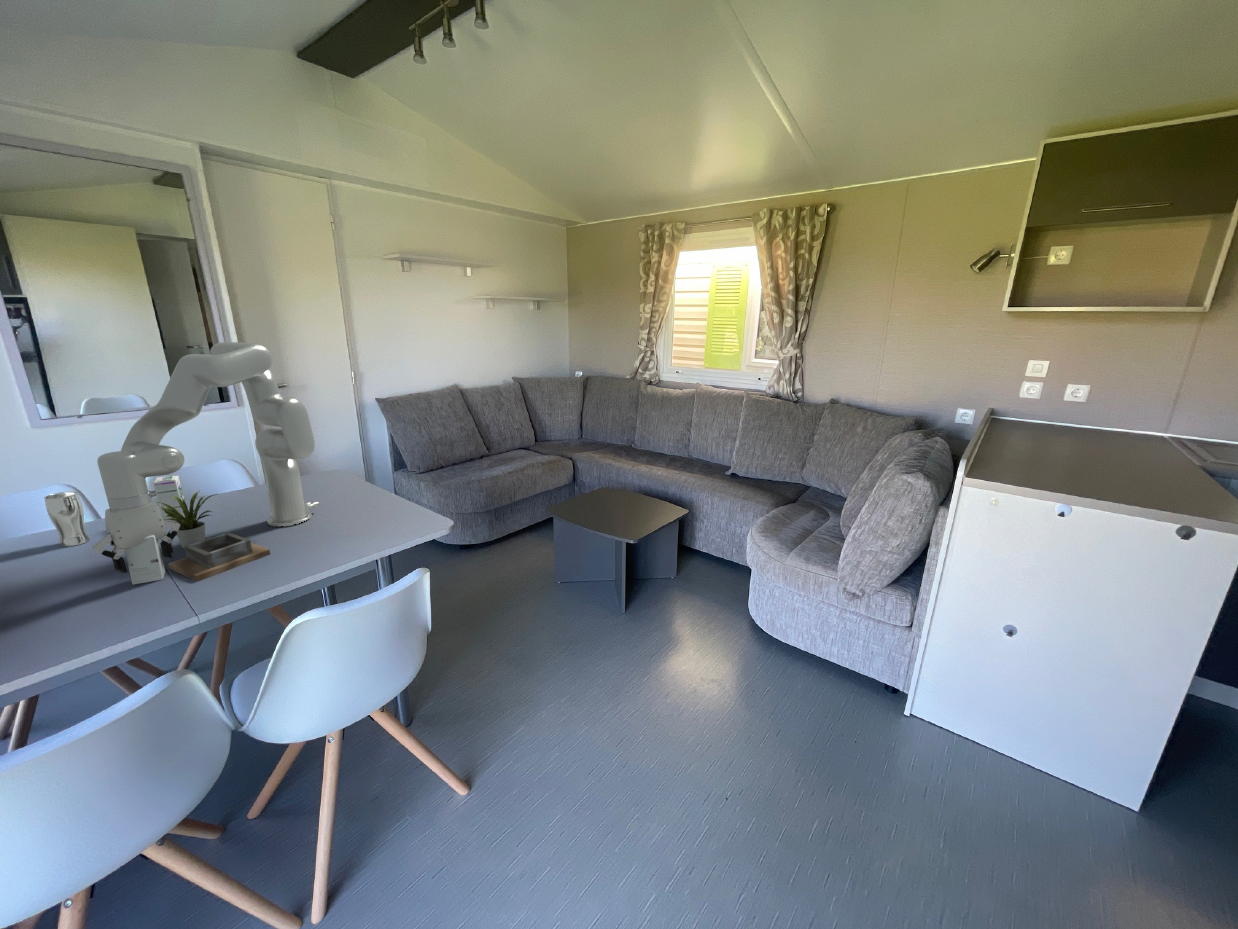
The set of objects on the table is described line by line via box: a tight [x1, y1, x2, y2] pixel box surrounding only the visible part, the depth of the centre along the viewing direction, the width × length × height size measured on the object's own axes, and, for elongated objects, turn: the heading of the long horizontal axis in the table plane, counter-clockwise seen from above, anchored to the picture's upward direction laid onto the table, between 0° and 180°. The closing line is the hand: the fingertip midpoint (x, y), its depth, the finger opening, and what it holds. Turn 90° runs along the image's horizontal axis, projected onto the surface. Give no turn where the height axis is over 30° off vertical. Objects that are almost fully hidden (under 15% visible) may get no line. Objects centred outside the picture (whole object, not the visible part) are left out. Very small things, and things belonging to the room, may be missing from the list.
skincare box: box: [124, 535, 166, 586], centre depth 128 cm, size 6×4×12 cm
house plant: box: [156, 490, 218, 550], centre depth 148 cm, size 14×14×16 cm
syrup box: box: [152, 474, 186, 523], centre depth 165 cm, size 6×6×14 cm
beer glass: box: [43, 491, 91, 548], centre depth 146 cm, size 7×7×15 cm
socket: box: [168, 532, 271, 582], centre depth 139 cm, size 18×14×6 cm
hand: (146, 563), depth 129 cm, fingers open, 8 cm apart
